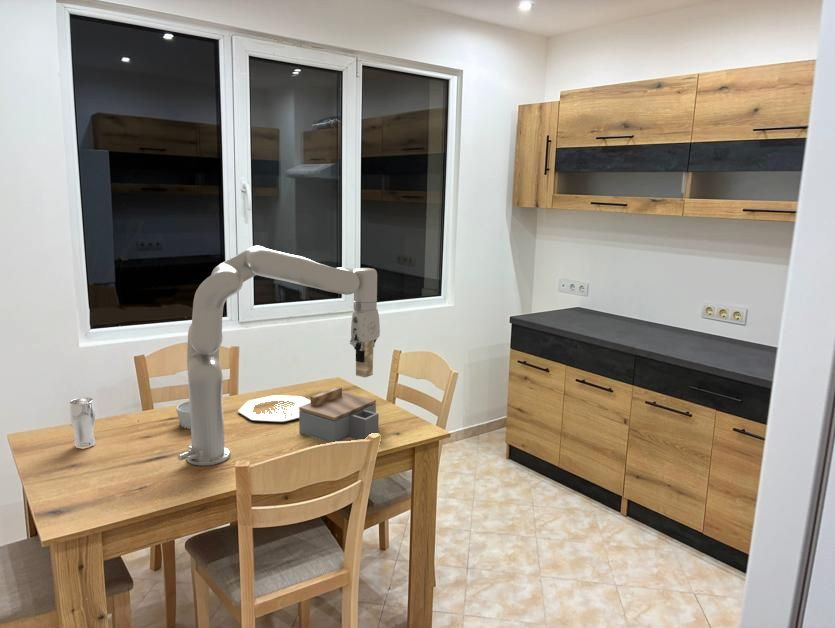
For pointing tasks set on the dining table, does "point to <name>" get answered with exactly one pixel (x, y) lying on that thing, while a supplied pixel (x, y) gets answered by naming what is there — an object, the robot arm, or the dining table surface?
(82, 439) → the beer glass
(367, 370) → the rectangular block
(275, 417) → the plate
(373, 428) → the toolbox
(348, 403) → the lid
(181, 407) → the ramekin
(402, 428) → the dining table surface
